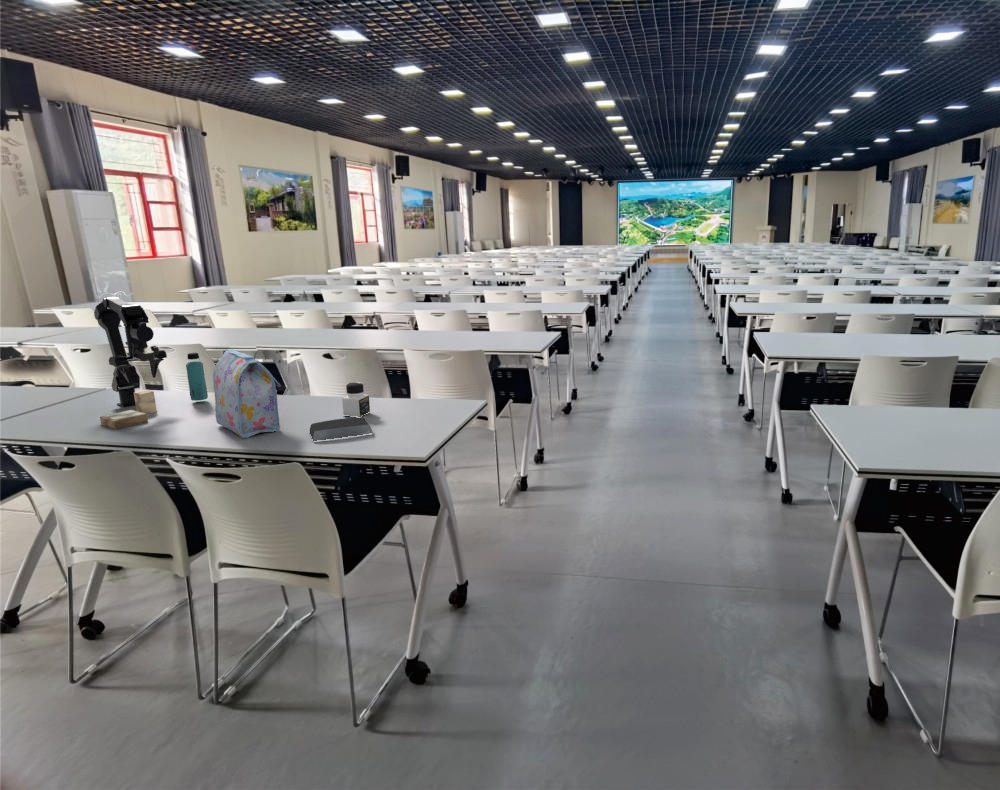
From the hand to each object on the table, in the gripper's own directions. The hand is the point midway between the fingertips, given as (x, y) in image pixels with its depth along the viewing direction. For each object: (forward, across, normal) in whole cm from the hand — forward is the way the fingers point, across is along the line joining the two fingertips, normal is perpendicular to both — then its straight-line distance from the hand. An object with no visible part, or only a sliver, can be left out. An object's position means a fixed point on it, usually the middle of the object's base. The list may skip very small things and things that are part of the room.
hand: (141, 379), depth 245 cm
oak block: (+13, 0, 0) cm, 13 cm away
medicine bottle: (+12, +40, -72) cm, 83 cm away
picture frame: (+12, -12, -8) cm, 19 cm away
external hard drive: (+12, +21, -84) cm, 88 cm away
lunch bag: (+12, +9, -53) cm, 55 cm away
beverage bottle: (+13, +19, -4) cm, 23 cm away
